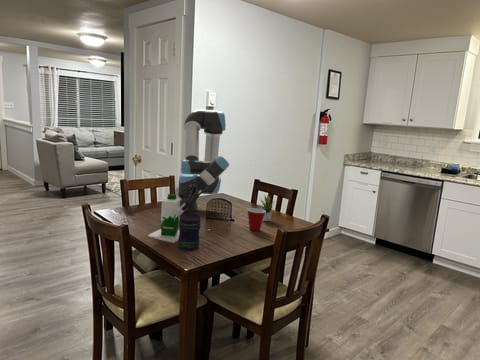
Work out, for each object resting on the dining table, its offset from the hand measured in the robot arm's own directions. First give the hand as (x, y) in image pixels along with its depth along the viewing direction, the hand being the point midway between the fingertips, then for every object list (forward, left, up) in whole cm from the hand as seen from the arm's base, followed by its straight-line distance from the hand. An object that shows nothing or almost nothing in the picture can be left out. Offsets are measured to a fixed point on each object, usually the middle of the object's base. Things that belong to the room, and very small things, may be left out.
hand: (173, 210), depth 177 cm
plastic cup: (-33, +33, -14) cm, 49 cm away
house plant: (-54, +32, -14) cm, 65 cm away
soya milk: (+1, -2, -13) cm, 13 cm away
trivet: (+1, -2, -14) cm, 14 cm away
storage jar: (+9, +14, -14) cm, 22 cm away
